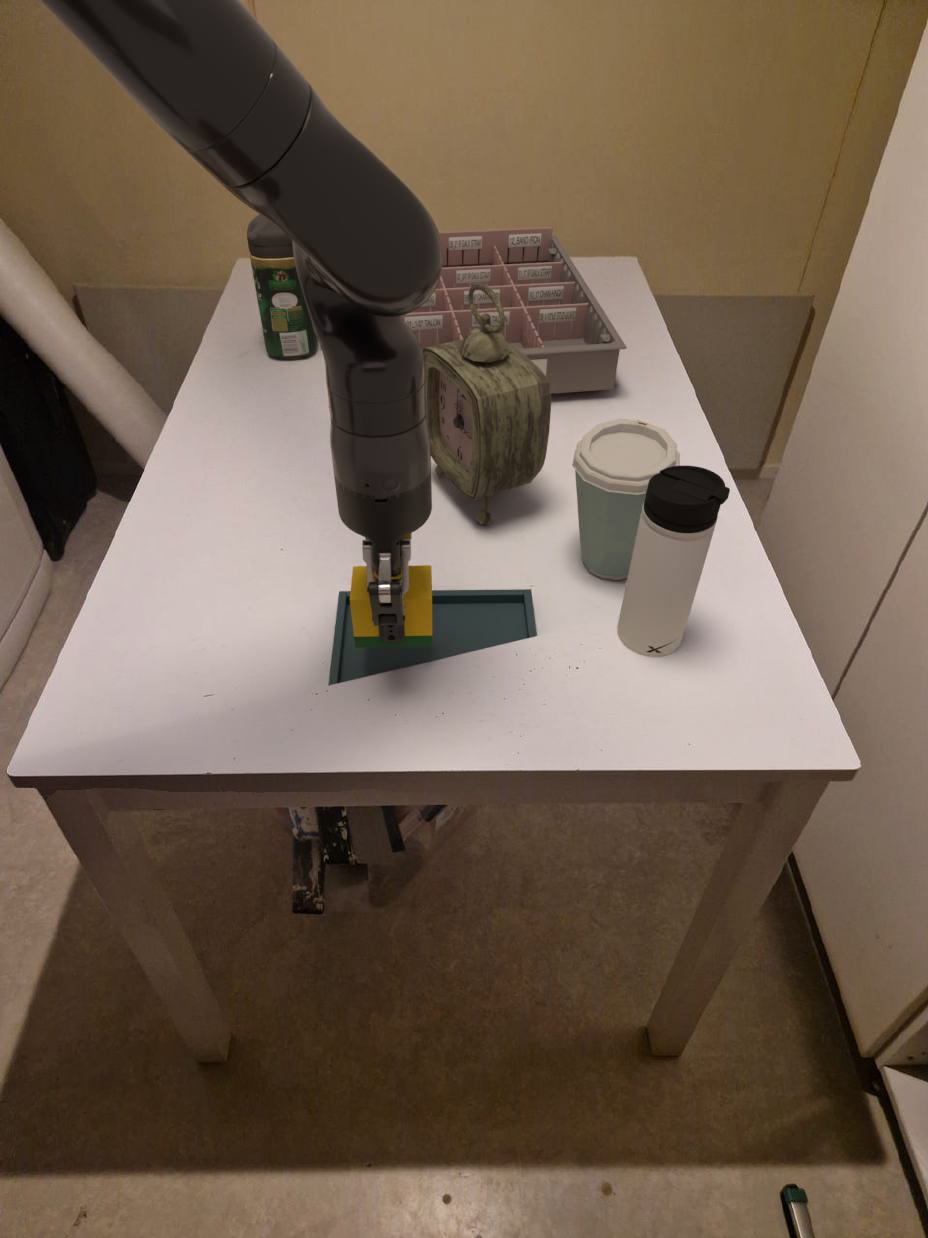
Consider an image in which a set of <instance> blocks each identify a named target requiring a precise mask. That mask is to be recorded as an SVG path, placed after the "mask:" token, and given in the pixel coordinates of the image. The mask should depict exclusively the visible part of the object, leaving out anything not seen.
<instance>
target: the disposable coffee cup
mask: <svg viewBox="0 0 928 1238" xmlns="http://www.w3.org/2000/svg"><path fill="white" fill-rule="evenodd" d="M677 447H678V444H677V442H676V441H675V440H674V439H673V438H672V436H671V435H670V434H669V433H668V432H667V431H666V429H664V428H662V427H660V426H657V425H654V424H652V423H649V422H647V421H641V420H634V419H624V418H617V419H614V420H610V421H606V422H603V423H599V424H596V426H594V427H593V428H591V430H589V431H588V432H587V433H585V434H584V435H583V436H582V438H581V440H580V441H578V442H577V443H576V448H575V449H574V454H573V460H572V464H571V466H572V467H573V469H574V473H575V489H576V501H577V503H576V504H577V515H578V516H577V518H578V531H579V545H580V558H581V560H582V561H583V565H584V566H585V568H586V569H587V570H588V572H589V573H590V574H592V575H595V576H596V577H598V578H600V579H604V580H612V581H620V580H625V579H627V578H628V573H629V569H630V564H631V559H632V554H633V549H634V545H635V540H636V535H637V530H638V525H639V521H640V516H641V512H642V506H643V503H644V500H645V497H646V491H647V487H648V483H649V480H650V479H651V478H652V477H653V476H654V475H655V474H658V473H660V471H661V470H663V469H665V468H668V467H672V466H681V461H680V459H681V458H680V457H681V453H680V452H679V451H678V448H677Z"/></svg>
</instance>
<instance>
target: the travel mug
mask: <svg viewBox="0 0 928 1238" xmlns="http://www.w3.org/2000/svg"><path fill="white" fill-rule="evenodd" d="M730 491H731V489H730V487H727V486H726V483H725V481H724V479H723V478H722V476H720V475H719V474H717V473H716V472H715V471H712V470H710V469H707V468H704V467H701V466H697V465H696V466H695V465H680V466H672V467H668V468H665V469H663V470H661V471H660V473H658V474H655V475H654V476H653V477H652V478H651V479H650V480H649V483H648V487H647V491H646V497H645V500H644V503H643V506H642V512H641V516H640V521H639V525H638V530H637V535H636V540H635V545H634V549H633V554H632V559H631V564H630V569H629V573H628V578H626V583H625V588H624V592H623V598H622V603H621V608H620V611H619V616H618V622H617V626H616V631H617V636H618V639H619V640H620V642H621V643H622V644H623V646H625V647H626V648H627V649H628V650H630V651H632V652H633V653H635V654H638V655H641V656H645V657H652V658H660V657H666V656H668V655H671V654H673V653H674V652H676V651H677V650H678V649H679V648H680V646H681V645H682V642H683V639H684V634H685V632H686V628H687V624H688V621H689V618H690V614H691V611H692V608H693V605H694V604H693V603H694V601H695V597H696V593H697V590H698V586H699V583H700V580H701V576H702V573H703V571H704V570H703V569H704V566H705V562H706V559H707V556H708V553H709V549H710V545H711V542H712V539H713V535H714V531H715V529H716V525H717V521H718V517H719V511H720V510H721V505H723V504H724V503H726V502H727V500H728V499H729V496H730V493H731V492H730Z"/></svg>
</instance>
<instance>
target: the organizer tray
mask: <svg viewBox="0 0 928 1238" xmlns="http://www.w3.org/2000/svg"><path fill="white" fill-rule="evenodd" d="M553 229H554V228H553V227H552V226H547V227H546V226H543V227H523V228H522V227H519V228H499V229H497V228H496V229H478V230H477V229H473V230H453V231H438V232H439V235H440V238H441V243H442V249H443V266H442V273H441V277H440V280H439V283H438V285H437V287H436V289H435V291H434V293H433V294H432V295H431V297H430V298H429V299H428V301H427V302H425V303H424V304H423V305H422V306H421V307H419V308H418V309H416V310H415V311H413V312H411V313H408V314H406V315H402V316H401V317H402V318H403V320H404V322H405V323H406V324H407V326H408V327H409V328H410V329H411V330H412V332H413V333H414V334H415V335H416V337H417V338H418V340H419V342H420V344H421V347H422V350H423V348H426V347H430V346H435V345H439V344H443V343H448V342H452V341H457V340H461V339H464V338H465V337H466V336H467V335H468V334H469V333H470V332H471V331H472V330H473V329H476V328H480V324H479V323H478V322H477V321H476V319H475V317H474V316H473V314H472V312H471V308H470V305H469V297H468V296H469V290H470V288H471V286H472V285H473V284H475V283H482V284H485V285H486V286H488V287H489V288H490V289H492V290H493V292H494V293H495V294H496V295H497V296H498V298H499V300H500V302H501V304H502V307H503V310H504V317H505V324H504V327H503V330H502V331H501V332H500V333H501V334H503V336H504V338H505V340H506V342H508V343H509V344H511V345H512V346H514V347H515V348H516V349H518V350H519V351H521V352H522V353H523V354H525V355H526V356H527V357H528V358H529V359H530V360H531V361H532V362H533V363H534V364H535V365H536V366H537V367H539V368H540V369H541V370H542V372H543V373H544V374H545V376H546V377H547V379H548V381H549V382H550V390H551V395H553V394H564V393H565V394H566V393H567V394H568V393H579V392H593V391H594V392H595V391H609V390H614V389H615V383H616V378H617V377H616V376H617V371H618V370H617V369H618V362H619V357H620V351H621V350H626V349H627V345H626V344H625V342H624V341H623V339H622V338H621V336H620V334H619V333H618V331H617V330H616V328H615V327H614V325H613V323H612V322H611V320H610V318H609V317H608V316H607V315H608V314H607V313H606V312H605V311H604V309H603V307H602V306H601V305H600V303H599V302H598V299H597V298H596V297H595V295H594V293H593V292H592V290H591V288H590V286H589V285H588V284H587V283H586V281H585V279H584V278H583V276H582V274H581V273H580V271H579V270H578V268H577V267H576V265H575V264H574V262H573V261H572V259H571V257H570V256H569V254H568V252H567V251H566V249H565V248H564V246H563V245H562V243H561V241H560V240H559V238H558V237H557V235H553ZM473 303H474V305H475V307H476V309H477V311H478V312H479V314H480V315H481V316H482V315H483V314H489V315H490V317H491V325H492V326H494V327H499V325H500V317H499V313H498V311H497V308H496V306H495V304H494V303H493V301H492V299H491V298H490V297H489V296H488V295H487V294H485V293H484V292H483V291H481V290H479V289H477V290H475V291H474V293H473Z"/></svg>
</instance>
